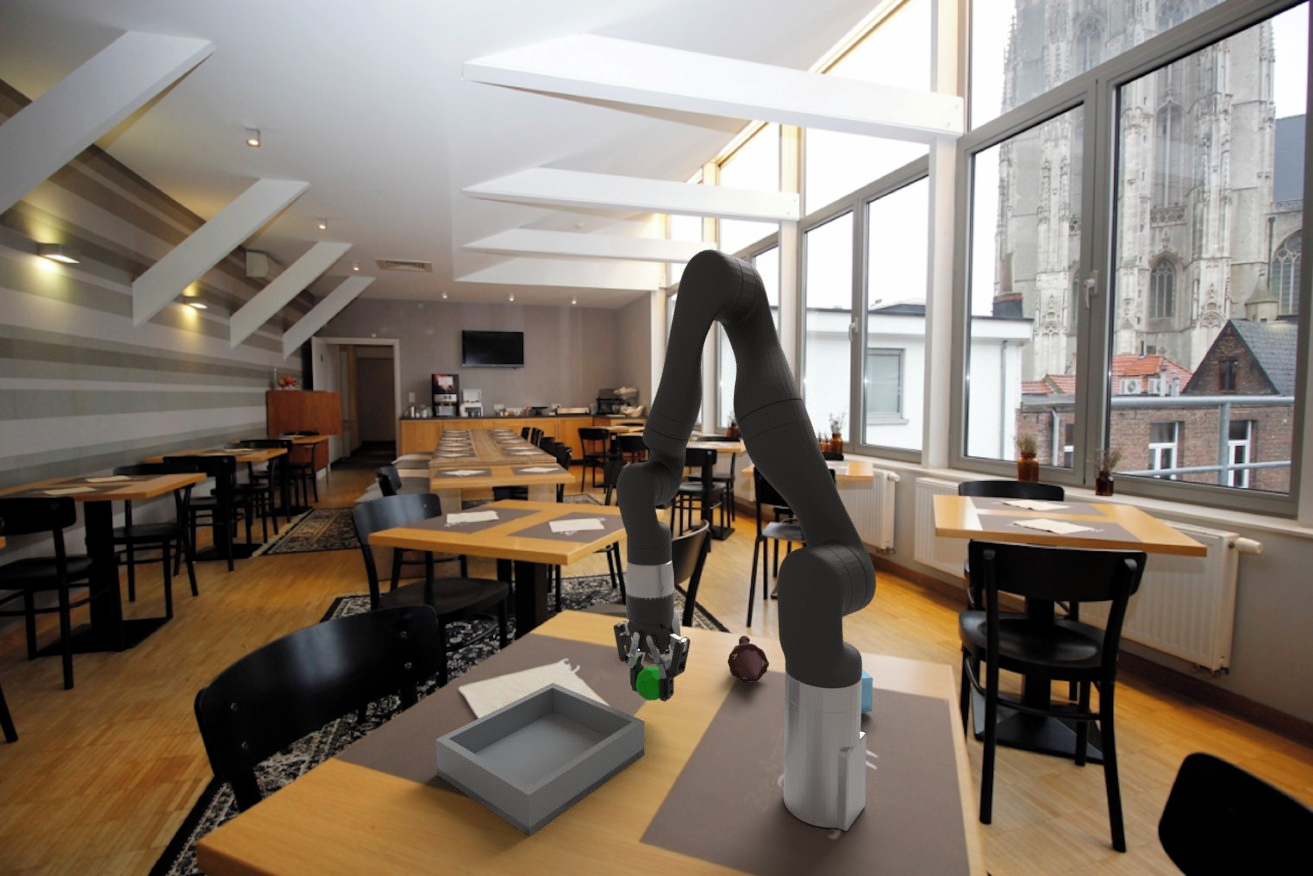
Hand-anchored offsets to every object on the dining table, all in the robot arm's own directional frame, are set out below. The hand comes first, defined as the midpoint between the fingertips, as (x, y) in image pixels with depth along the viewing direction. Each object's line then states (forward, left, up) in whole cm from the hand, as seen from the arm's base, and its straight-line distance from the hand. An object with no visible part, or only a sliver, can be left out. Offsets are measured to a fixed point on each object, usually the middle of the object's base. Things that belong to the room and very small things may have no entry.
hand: (651, 693), depth 100 cm
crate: (+4, +19, -4) cm, 20 cm away
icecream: (-5, -22, -5) cm, 23 cm away
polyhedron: (0, 0, -1) cm, 1 cm away
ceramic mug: (+16, -22, -5) cm, 28 cm away
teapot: (-22, -23, -5) cm, 32 cm away
